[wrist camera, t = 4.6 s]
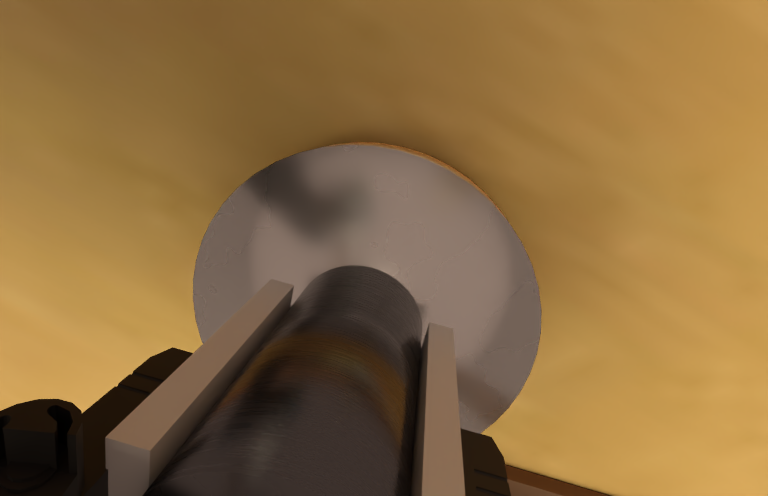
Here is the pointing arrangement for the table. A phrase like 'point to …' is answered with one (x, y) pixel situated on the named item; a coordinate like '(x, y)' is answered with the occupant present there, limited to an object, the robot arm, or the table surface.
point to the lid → (353, 321)
